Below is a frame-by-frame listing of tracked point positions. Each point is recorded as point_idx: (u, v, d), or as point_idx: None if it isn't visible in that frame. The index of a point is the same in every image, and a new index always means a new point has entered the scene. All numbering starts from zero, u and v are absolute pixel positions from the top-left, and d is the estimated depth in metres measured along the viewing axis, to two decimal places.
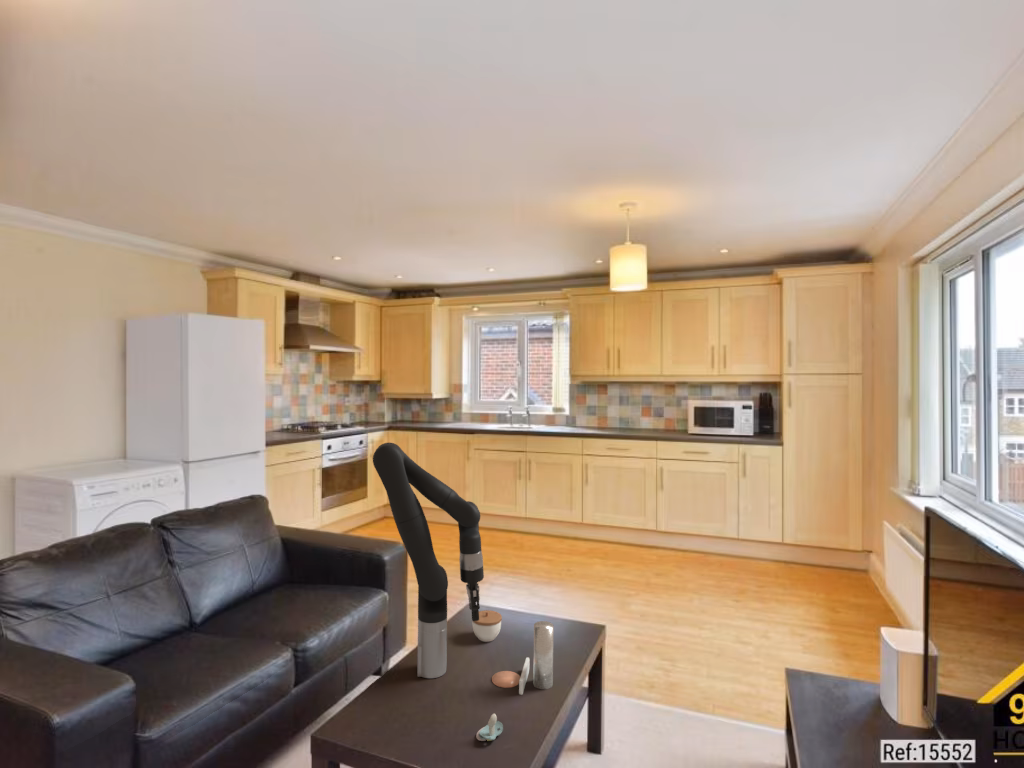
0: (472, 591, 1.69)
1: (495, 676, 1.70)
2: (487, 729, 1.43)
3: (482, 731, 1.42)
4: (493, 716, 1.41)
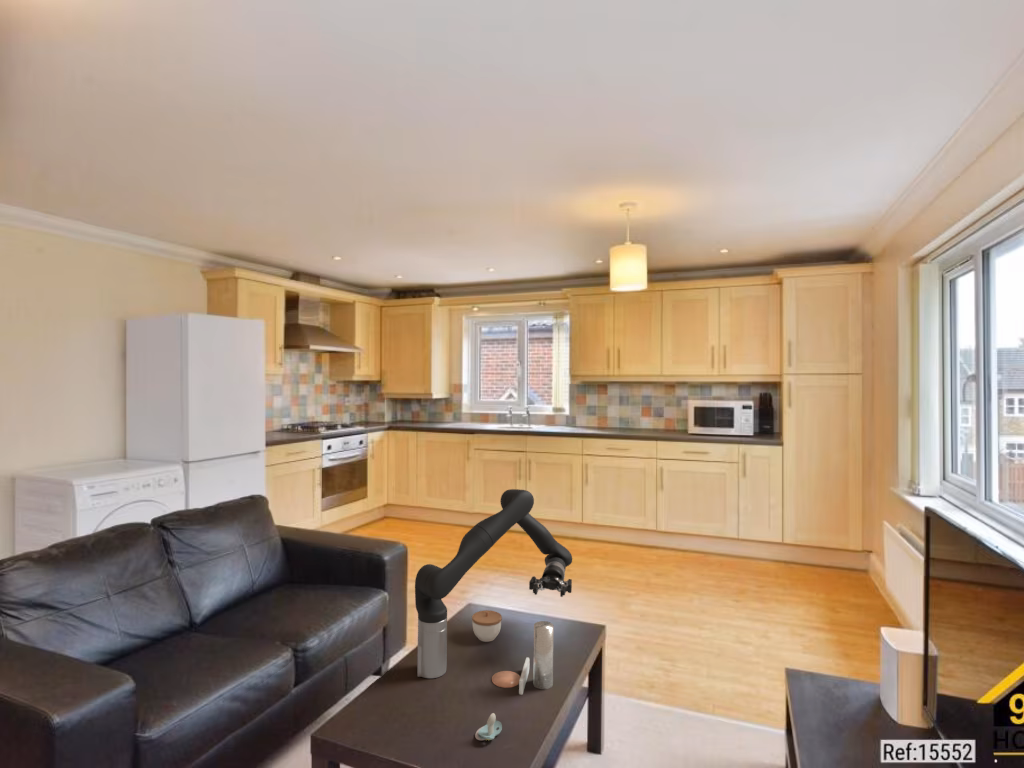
0: None
1: (495, 676, 1.70)
2: (486, 729, 1.43)
3: (481, 731, 1.42)
4: (492, 716, 1.41)
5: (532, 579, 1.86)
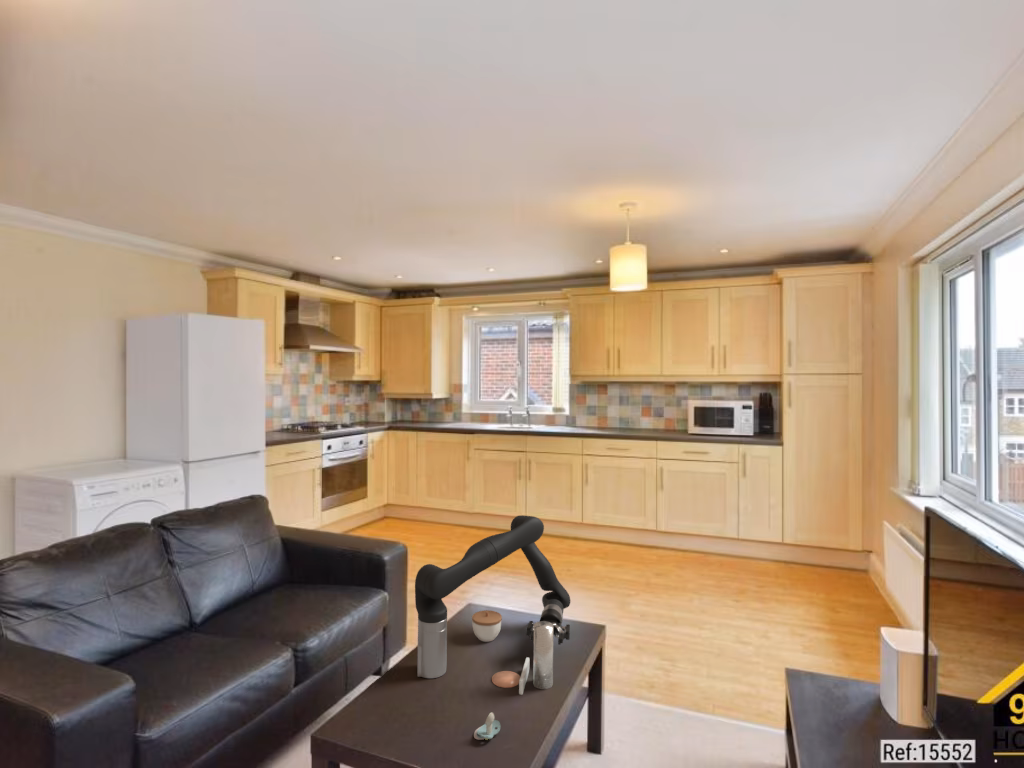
0: None
1: (495, 676, 1.70)
2: (485, 728, 1.44)
3: (480, 730, 1.42)
4: (490, 715, 1.41)
5: (529, 624, 1.82)
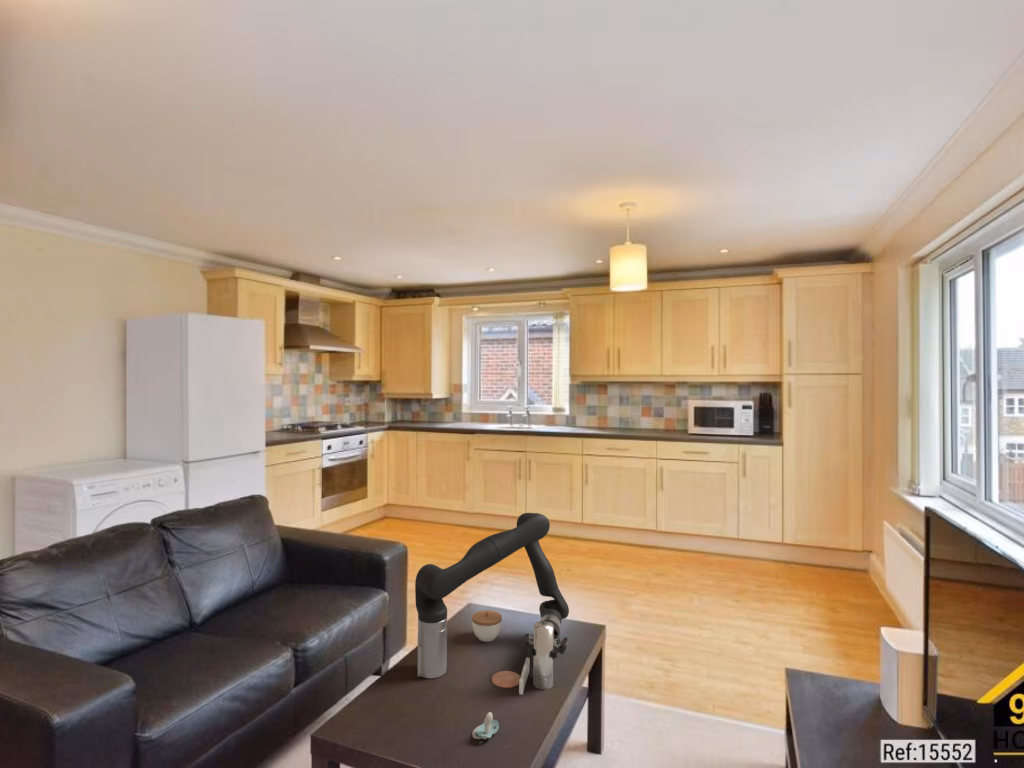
0: None
1: (495, 676, 1.70)
2: (483, 727, 1.44)
3: (478, 729, 1.43)
4: (489, 714, 1.42)
5: (527, 638, 1.73)
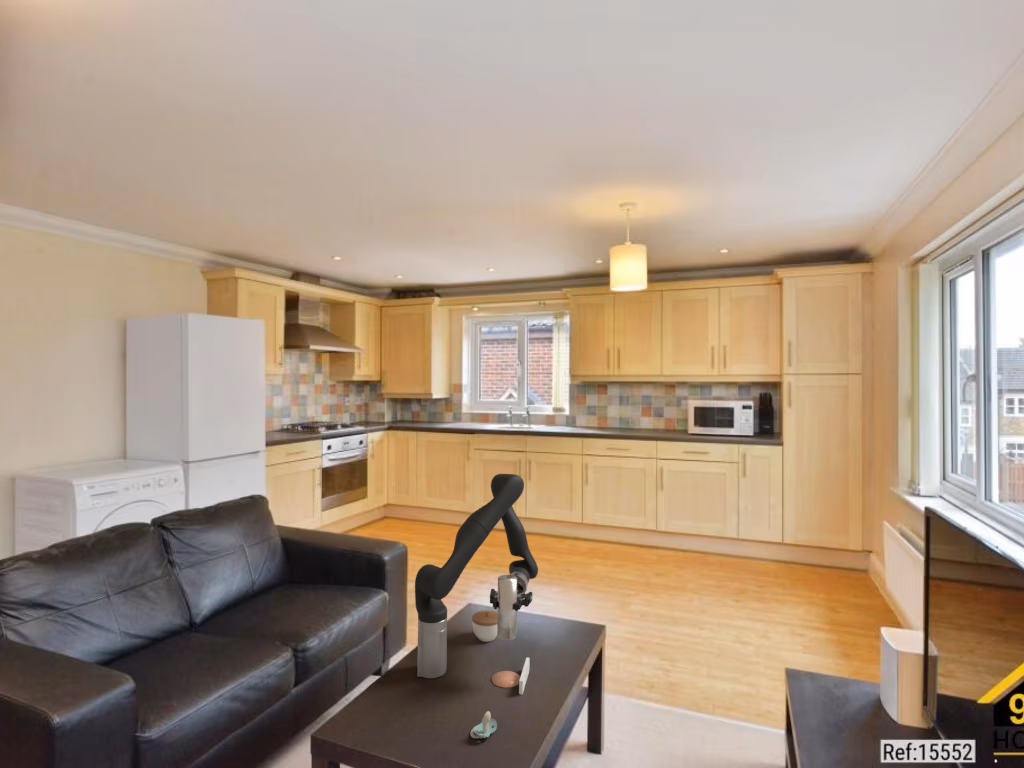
0: None
1: (495, 676, 1.70)
2: (481, 727, 1.44)
3: (476, 729, 1.43)
4: (487, 714, 1.42)
5: (492, 592, 1.75)
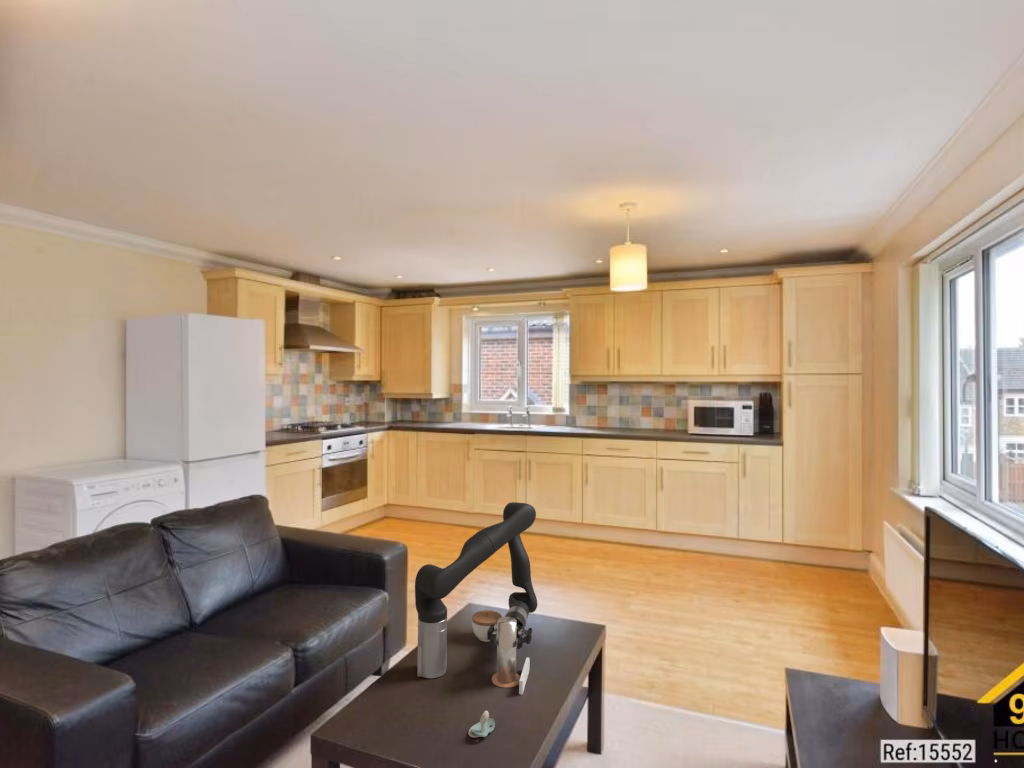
0: None
1: (495, 676, 1.70)
2: (479, 726, 1.44)
3: (474, 728, 1.43)
4: (485, 713, 1.42)
5: (490, 628, 1.75)
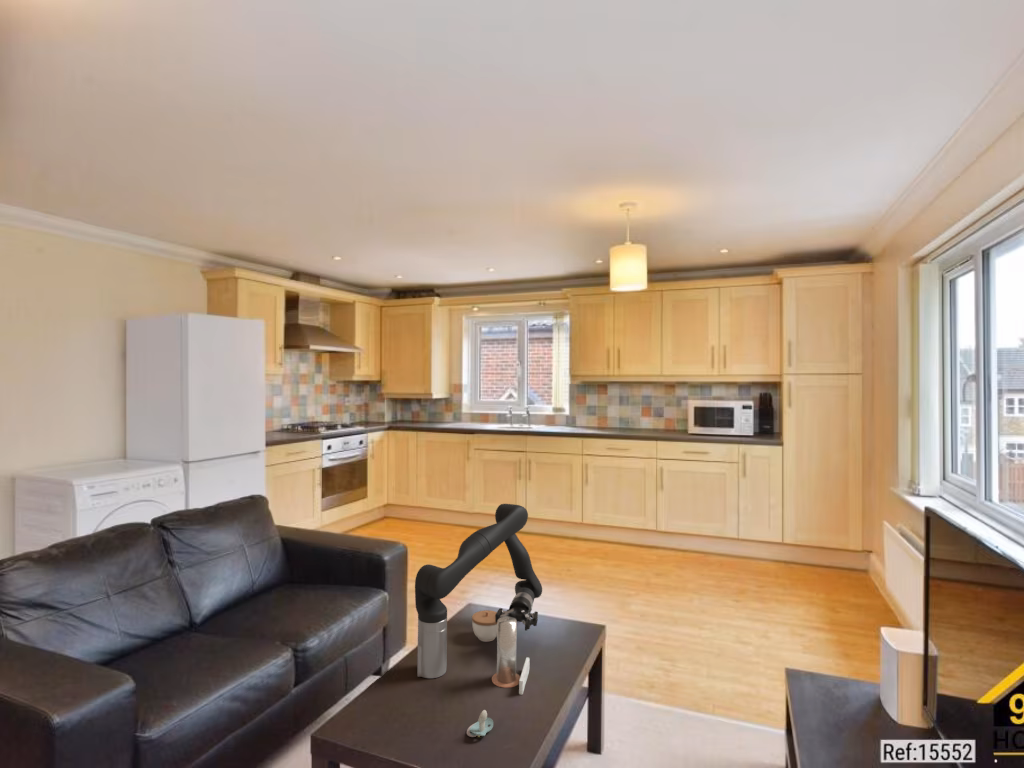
0: None
1: (495, 676, 1.70)
2: (477, 725, 1.45)
3: (472, 727, 1.44)
4: (483, 712, 1.43)
5: (498, 611, 1.88)
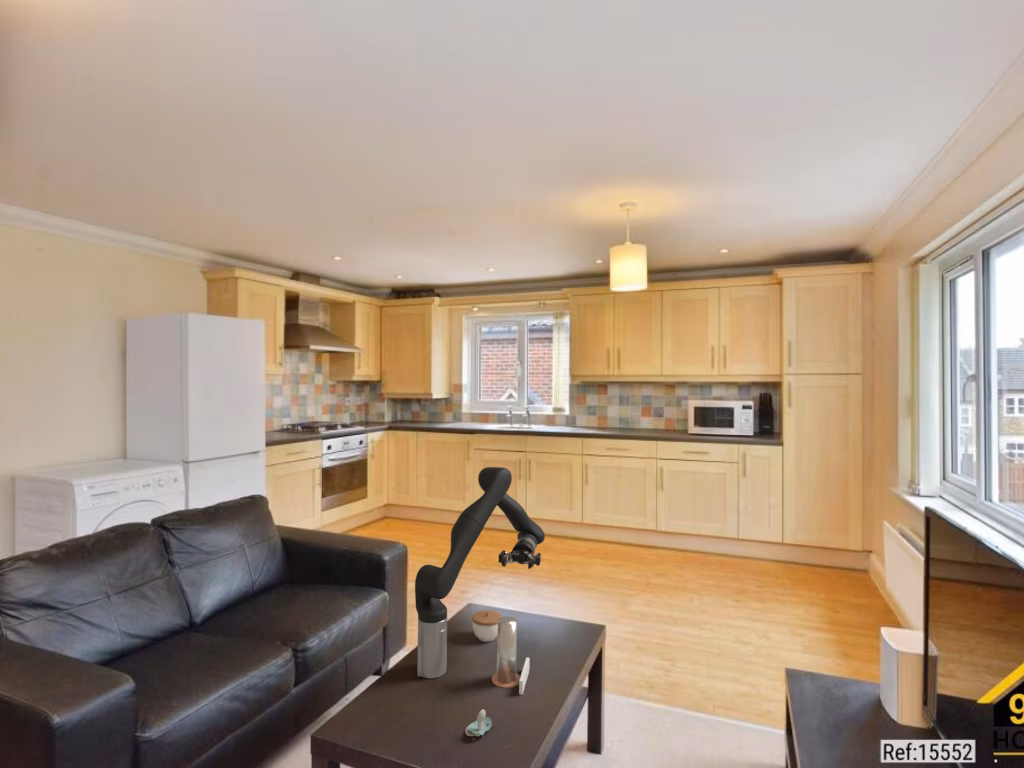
0: None
1: (495, 676, 1.70)
2: (476, 725, 1.45)
3: (471, 727, 1.44)
4: (482, 712, 1.43)
5: (502, 553, 1.88)
